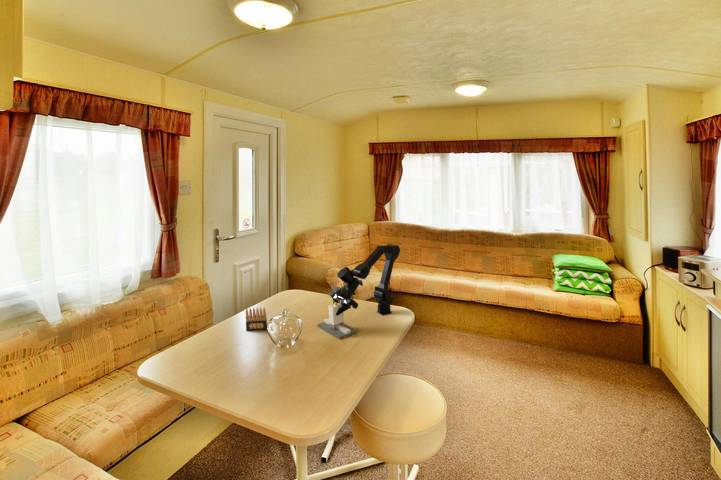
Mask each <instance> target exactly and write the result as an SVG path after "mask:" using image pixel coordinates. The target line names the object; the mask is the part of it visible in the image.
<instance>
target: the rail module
mask: <svg viewBox="0 0 721 480" xmlns="http://www.w3.org/2000/svg"><path fill="white" fill-rule="evenodd" d="M340 306H341V302H340V303H336V302H335V303H334V304H333V303H332V304H328V319H329V326H330V327H332V328H334V329H335V328H336V324H340V325H342V326H343V325H344V324H345V317H344V315H345V314H344V312H343V313H341V314H339V315H338V316H337V315H336V313H337V311H338V309H339V307H340Z"/></svg>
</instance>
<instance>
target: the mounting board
mask: <svg viewBox="0 0 721 480" xmlns="http://www.w3.org/2000/svg"><path fill="white" fill-rule="evenodd" d="M316 327H317V328H319V329H321V330H323V331H324V332H326V333H327V334H329V335H331V336H333V337H335V338H336V339H339V340H341V339H344V338H347V337H350V336H351V335H355V334H357V333H358V329H356V328H354V327H352V326H350V325H348V324H346V323H344V325H343V326H342V325H340V324H336V328H335V329H334V328H332V327H330V326H329V317H327V318H324V319H323V322H319V323H316Z"/></svg>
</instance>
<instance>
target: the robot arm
mask: <svg viewBox="0 0 721 480" xmlns="http://www.w3.org/2000/svg"><path fill="white" fill-rule="evenodd" d="M400 252H401V248H400V246H399V245H396V244H391V243H388V244H386V245H384V244H383V245H381V244H378V245H377V246H376V248H375V249H374V250H373V251H372V252H371V254H370V255H369V256H368V257H367V258H366V259H365V260H364V261H362V262H360V263H359V264H357V265H356V266H355V267H354V268H353V269H350V268H349V267H348V266H344V267H343V268H342V269H340V270H338V272H337V274H336V276H337V278H339V279H340V280H341V281H342V282H343V283H344V284H345V285H342V286H341V287H340V286H336V285H333V287H332V289H331V291H329V293H328V296H329V297H330V298H332V304H334V303H335V302H336V303H341V306H340V307H339V309H338V311H337V313H336V315H337V316H338V315H339V314H341V313H344V312H346V311H348V310H349V309H350V310H351V309H355V310H357V308H358V307H359V303H358V302H356V301H355V300H354V299H353V298H352V297H353V296H356V290H357V289H358V288H359V286H361V287H363V286H364V284H363V280H365V279H367V277H368V276H369V275H370V273H371V269H372V267H373V266H374V265H375V264H376V263H377V262H378V261H379V260H380V258H381V257H382V256H383V255H384V258H385V259H384V260H385V261H384V265H383V268H382V274H381V276H380V281H379V284H378V285H376V286H375V287H374V290H373V297H374V299H375V301H376V302H377V311H376V313H378V314H380V315H381V316H385V315H389V314H392V313H393V312H392V311H391V310H392V309H391V304H393V302H394V298H392V297H391V296H390V293H391V292H390V291H391V290H390V286H389V284H390V280H391V277H392V273H393V268H394V263H395V261H396V260H397V259H398V257H399V255H400ZM361 279H362V280H361Z"/></svg>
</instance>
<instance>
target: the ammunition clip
mask: <svg viewBox="0 0 721 480" xmlns="http://www.w3.org/2000/svg"><path fill="white" fill-rule="evenodd" d="M267 318H268V317H267V312H266V308H265V307H263V309H262V307H259V308H258V307H256V309H255V307H253V308H251V307H249V310H248V308H246V309H245V331H246V332H255V331H268V329H267V325H268V319H267Z"/></svg>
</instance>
